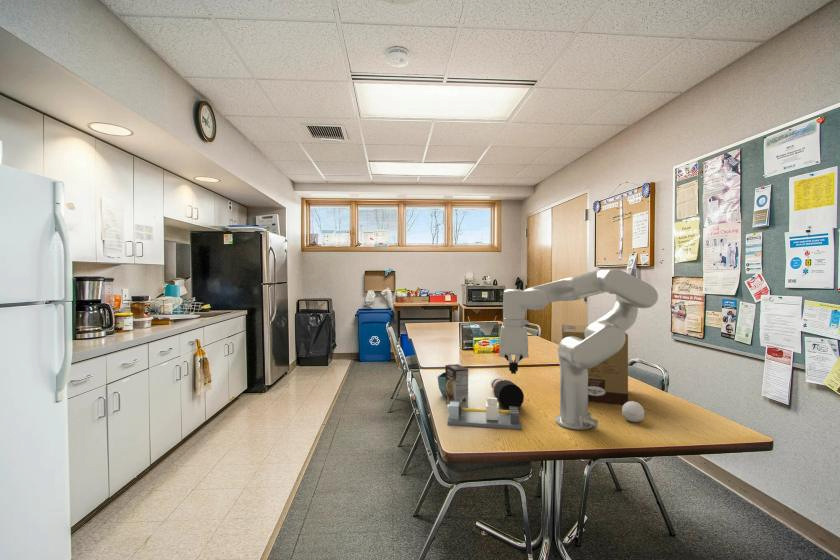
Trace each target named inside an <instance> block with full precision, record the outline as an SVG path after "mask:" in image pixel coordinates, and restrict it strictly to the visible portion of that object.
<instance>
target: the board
mask: <svg viewBox="0 0 840 560" xmlns="http://www.w3.org/2000/svg"><path fill="white" fill-rule="evenodd" d="M508 410H510V414H504V413H499V420H486V412H470V411H462V414H461V415H459V419H449V417H448V419H447V425H450V426H462V427H463V426H465V427H478V428H493V429H494V428H495V429H511V430H522V424H521V420H520V412H519V408H518V407H510V406H509V409H508Z"/></svg>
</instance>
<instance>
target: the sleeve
mask: <svg viewBox="0 0 840 560" xmlns="http://www.w3.org/2000/svg"><path fill="white" fill-rule="evenodd" d="M485 406H486V407H485V409H486V412H485V413H486V420H499V414H500V413H499V411H498V410H499V402H498V400H497V398H496V397H487V398H486V402H485Z"/></svg>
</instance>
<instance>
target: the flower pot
mask: <svg viewBox="0 0 840 560" xmlns="http://www.w3.org/2000/svg"><path fill="white" fill-rule="evenodd" d="M437 383H438V384H437V385H438V389H439V392H440V393H441V395H442V396H443V397H446V374H445V371H444V372H442V373H441V374H439V375H438V376H437Z"/></svg>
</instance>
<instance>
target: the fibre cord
mask: <svg viewBox="0 0 840 560" xmlns="http://www.w3.org/2000/svg"><path fill="white" fill-rule="evenodd" d="M461 410H462V412H469V413H486V408H476V407H475V408H473V407H466V408H462V409H461ZM498 411H499V414H504V415H509V414H510V410H509V409H498Z"/></svg>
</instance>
